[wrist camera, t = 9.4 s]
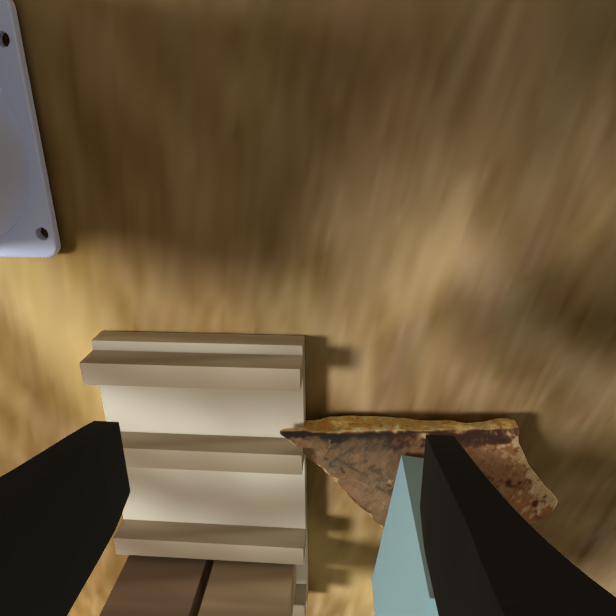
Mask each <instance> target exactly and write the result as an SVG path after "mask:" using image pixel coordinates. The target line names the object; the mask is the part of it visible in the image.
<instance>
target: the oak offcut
mask: <svg viewBox="0 0 616 616" xmlns="http://www.w3.org/2000/svg"><path fill="white" fill-rule="evenodd" d="M296 579H297V578H296V565H295V564H277V563H260V562H243V561H226V560H214V564H213V567H212V570H211V574H210V577H209V580H208V584H207V587H206V590H205V593H204V597H203V600H202V603H201V607H200V610H199V613H198V616H292V613H293V604H294V596H295V588H296Z"/></svg>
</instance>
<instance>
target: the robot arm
mask: <svg viewBox="0 0 616 616" xmlns="http://www.w3.org/2000/svg"><path fill="white" fill-rule="evenodd" d="M4 33H7V34H8V36H9V38H10V44H9V45H8V47H6V46H5V45H4V43H3V41H2V37H3V35H4ZM41 228H44V229H45V230H47V232H48V238H46V237H44V236H43V235H42V233H41ZM60 249H61V243H60V238H59V233H58V228H57V222H56V217H55V212H54V206H53V201H52V196H51V191H50V185H49V180H48V175H47V170H46V164H45V159H44V154H43V148H42V143H41V138H40V133H39V127H38V122H37V117H36V112H35V106H34V101H33V96H32V90H31V85H30V80H29V75H28V69H27V64H26V59H25V54H24V48H23V43H22V38H21V33H20V27H19V22H18V17H17V11H16V7H15V4H14V2H13V0H0V257H43V258H48V257H52V256H54V255H56V254H57V253H58V252H59V251H60ZM130 492H131V491H130V485H129V479H128V473H127V467H126V461H125V456H124V450H123V444H122V438H121V432H120V426H119V422H106V421H93V422H92V423H90V424H88V425H86V426H84V427H82V428H80V429H79V430H77V431H75V432H74V433H72V434H70V435H69V436H67V437H66V438H64V439H62V440H61V441H59V442H57V443H56V444H54V445H53V446H51V447H49V448H48V449H46V450H45V451H43V452H41V453H40V454H38V455H36V456H35V457H33V458H32V459H30V460H28V461H27V462H25V463H23V464H22V465H20V466H19V467H17V468H15V469H14V470H12V471H10V472H8V473H7V474H5V475H3V476H1V477H0V616H67V614H68V613H69V611H70V609H71V607H72V606H73V604H74V602H75V600H76V599H77V597H78V595H79V593H80V592H81V590H82V588H83V586H84V585H85V583H86V581H87V579H88V578H89V576H90V574H91V572H92V571H93V569H94V567H95V565H96V564H97V562H98V560H99V558H100V557H101V555H102V553H103V551H104V549H105V548H106V546H107V544H108V542H109V540H110V539H111V537H112V535H113V533H114V531H115V529H116V527H117V524H118V522H119V519H120V517H121V515H122V512H123V510H124V507H125V504H126V502H127V499H128V497H129V494H130ZM420 514H421V525H422V534H423V544H424V551H425V556H426V561H427V565H428V570H429V574H430V579H431V584H432V588H433V593H434V597H435V602H436V606H437V611H438V615H439V616H616V597H614V596H613V595H612V594H610V593H609V592H608V591H607V590H605V589H604V588H603V587H601V586H600V585H599V584H597V583H596V582H595V581H593V580H592V579H591V578H589V577H588V576H587V575H586V574H584V573H583V572H582V571H581V570H580V569H578V568H577V567H576V566H575V565H573V564H572V563H571V562H570V561H569V560H568V559H567V558H565V557H564V556H563V555H562V554H561V553H560V552H559V551H557V550H556V549H555V548H554V547H553V546H552V545H551V544H549V543H548V542H547V541H546V540H545V539H544V538H543V537H542V536H541V535H540V534H539V533H538V532H537V531H535V529H534V528H533V527H532V526H531V525H530V524H529V523H528V522H527V521H526V520H525V519H524V518H523V517H522V516H521V515H520V514H519V513H518V512H517V511H516V510H515V509H514V508H513V507H512V506H511V504H510V503H509V502H508V501H507V500H506V499H505V498H504V497H503V495H502V494H501V493H500V492H499V491H498V490H497V489H496V487H495V486H494V485H493V484H492V483H491V482H490V481H489V479H488V478H487V477H486V476H485V475H484V473H483V472H482V471H481V470H480V468H479V467H478V466H477V465H476V463H475V462H474V461H473V460H472V458H471V457H470V456H469V454H468V453H467V452H466V450H465V449H464V448H463V447H462V445H461V444H460V443H459V441H458V440H457V439H456V438H455V437H454V436H452V435H427V434H426V438H425V450H424V462H423V474H422V486H421V497H420Z"/></svg>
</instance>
